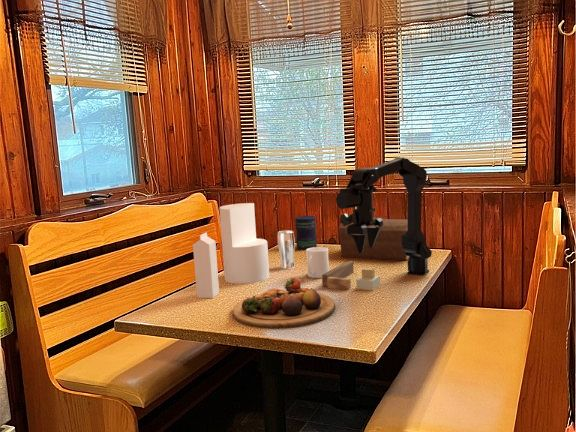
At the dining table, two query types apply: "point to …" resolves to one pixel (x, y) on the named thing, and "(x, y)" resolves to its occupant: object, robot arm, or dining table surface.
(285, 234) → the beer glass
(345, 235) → the wooden bread box
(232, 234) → the stepped white drum
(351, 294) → the dining table surface
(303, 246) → the storage jar
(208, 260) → the milk
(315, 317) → the wooden plate with food
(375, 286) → the square base with post
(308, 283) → the dining table surface
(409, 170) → the robot arm
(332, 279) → the cleat board
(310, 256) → the mug
